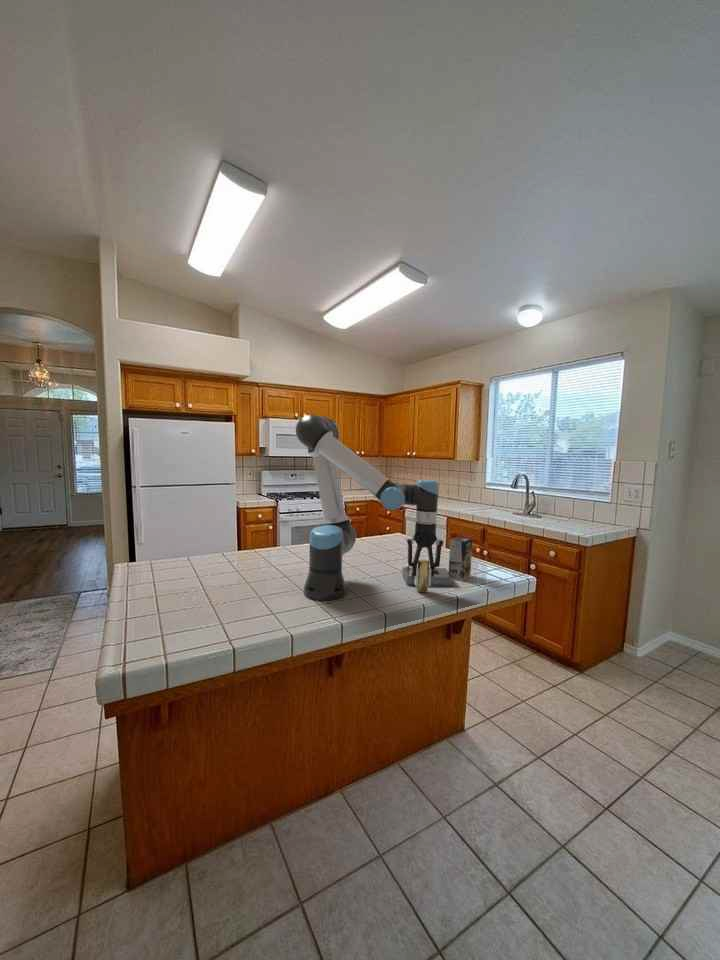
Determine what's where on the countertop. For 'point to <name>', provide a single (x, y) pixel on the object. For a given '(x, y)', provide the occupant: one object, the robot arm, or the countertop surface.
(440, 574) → the jig
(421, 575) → the cylinder
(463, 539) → the coffee box
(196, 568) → the countertop surface
